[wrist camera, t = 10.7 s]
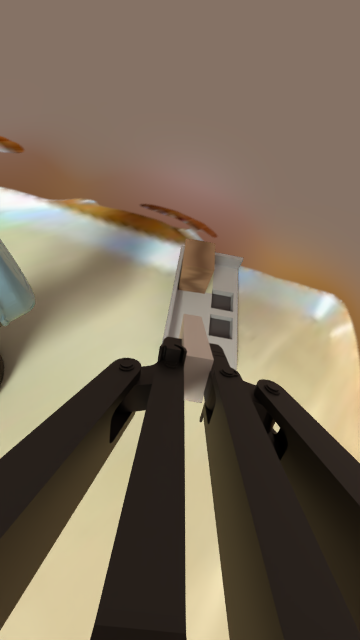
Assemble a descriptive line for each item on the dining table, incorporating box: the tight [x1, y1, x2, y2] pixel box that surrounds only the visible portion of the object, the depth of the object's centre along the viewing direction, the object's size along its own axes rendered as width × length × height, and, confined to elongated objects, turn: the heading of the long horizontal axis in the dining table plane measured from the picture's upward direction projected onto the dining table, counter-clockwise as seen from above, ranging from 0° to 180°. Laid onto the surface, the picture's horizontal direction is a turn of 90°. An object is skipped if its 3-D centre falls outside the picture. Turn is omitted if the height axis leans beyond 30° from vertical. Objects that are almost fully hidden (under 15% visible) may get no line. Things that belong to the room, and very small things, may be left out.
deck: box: [162, 246, 243, 370], centre depth 39 cm, size 15×26×5 cm, turn 171°
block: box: [178, 238, 215, 294], centre depth 39 cm, size 6×7×8 cm
